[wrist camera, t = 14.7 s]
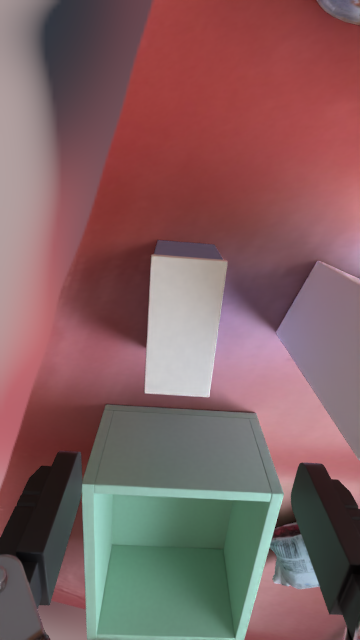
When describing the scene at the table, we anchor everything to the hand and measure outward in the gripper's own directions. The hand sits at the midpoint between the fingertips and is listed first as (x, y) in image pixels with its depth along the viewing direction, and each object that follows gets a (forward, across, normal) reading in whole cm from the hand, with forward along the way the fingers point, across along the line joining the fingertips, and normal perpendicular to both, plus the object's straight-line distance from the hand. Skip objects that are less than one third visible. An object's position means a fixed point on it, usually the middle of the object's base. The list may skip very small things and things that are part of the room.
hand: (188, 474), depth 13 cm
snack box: (+18, 0, 0) cm, 18 cm away
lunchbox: (+18, -1, +21) cm, 28 cm away
